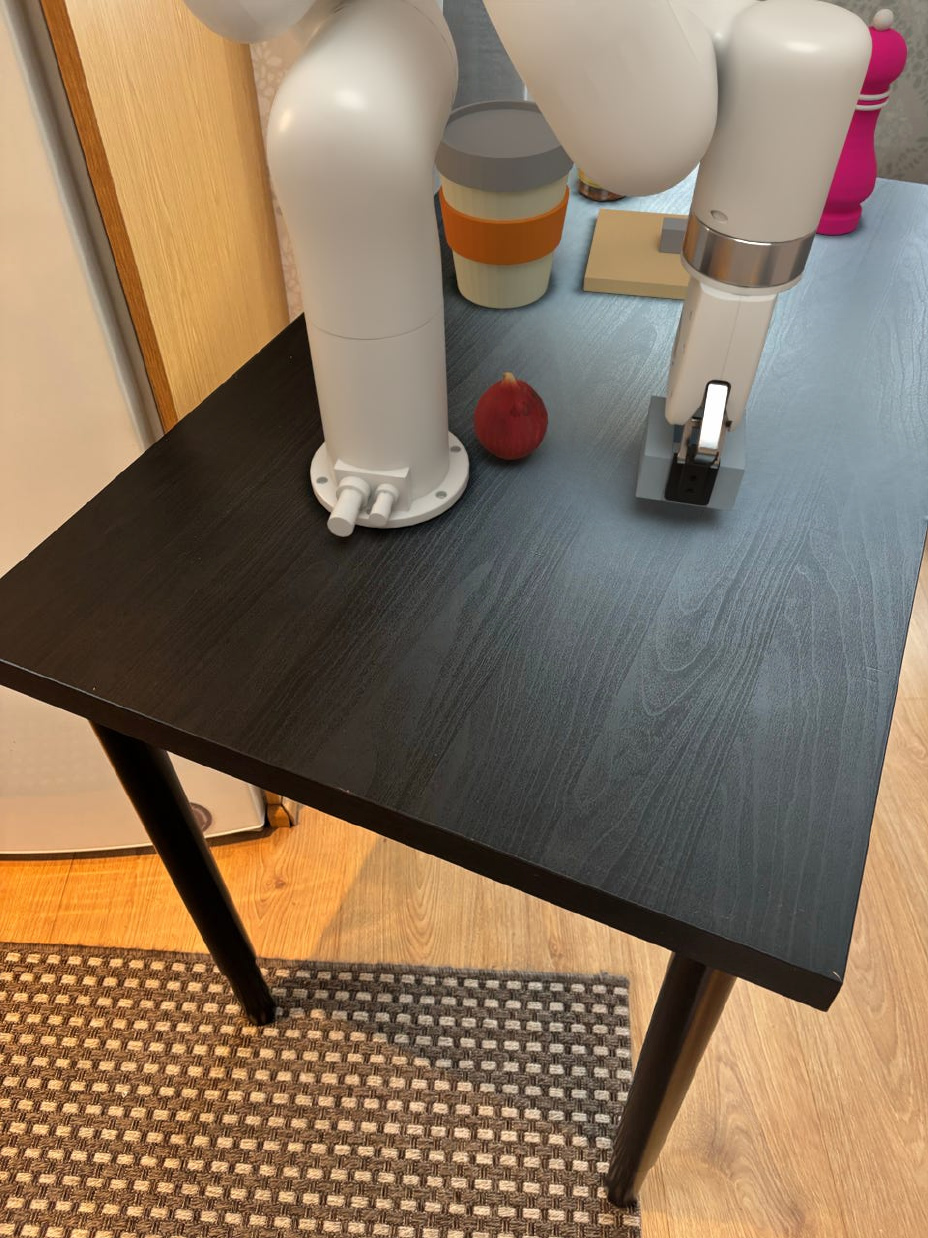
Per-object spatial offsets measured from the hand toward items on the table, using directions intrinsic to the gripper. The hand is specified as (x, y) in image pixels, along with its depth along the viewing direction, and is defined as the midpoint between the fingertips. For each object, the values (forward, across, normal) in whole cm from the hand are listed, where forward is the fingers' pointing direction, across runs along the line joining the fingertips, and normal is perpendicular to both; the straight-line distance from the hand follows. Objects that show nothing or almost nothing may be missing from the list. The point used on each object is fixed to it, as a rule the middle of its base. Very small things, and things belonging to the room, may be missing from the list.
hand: (688, 464), depth 72 cm
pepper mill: (+3, -47, +13) cm, 49 cm away
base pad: (+4, -36, -3) cm, 36 cm away
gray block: (+1, 0, 0) cm, 1 cm away
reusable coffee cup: (+5, -29, -19) cm, 35 cm away
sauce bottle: (+4, -50, -11) cm, 51 cm away
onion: (+5, -3, -14) cm, 15 cm away
